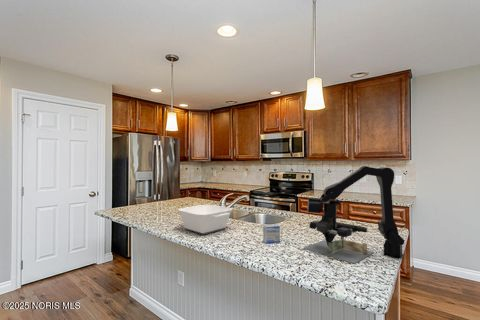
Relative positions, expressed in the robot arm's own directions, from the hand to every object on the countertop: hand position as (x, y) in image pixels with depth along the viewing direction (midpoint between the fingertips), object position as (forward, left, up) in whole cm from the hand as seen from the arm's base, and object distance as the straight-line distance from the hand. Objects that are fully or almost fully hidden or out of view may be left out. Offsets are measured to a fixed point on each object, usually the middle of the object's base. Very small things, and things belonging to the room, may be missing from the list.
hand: (329, 246), depth 120 cm
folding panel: (-2, -2, -1) cm, 3 cm away
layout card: (-2, -4, -2) cm, 5 cm away
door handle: (+12, -41, -3) cm, 43 cm away
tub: (+70, +23, -3) cm, 74 cm away
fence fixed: (-8, -8, -2) cm, 11 cm away
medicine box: (+27, +10, -3) cm, 29 cm away
